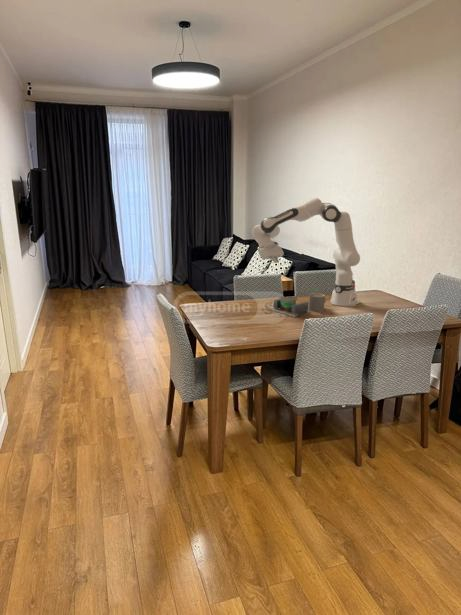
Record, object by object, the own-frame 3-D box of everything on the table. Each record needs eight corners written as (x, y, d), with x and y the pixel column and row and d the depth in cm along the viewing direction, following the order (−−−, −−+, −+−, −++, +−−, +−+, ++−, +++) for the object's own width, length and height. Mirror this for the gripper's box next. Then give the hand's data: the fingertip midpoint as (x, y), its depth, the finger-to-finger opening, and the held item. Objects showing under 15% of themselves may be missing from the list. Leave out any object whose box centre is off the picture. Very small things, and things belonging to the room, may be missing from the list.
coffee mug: (315, 312, 287) (316, 297, 284) (305, 308, 295) (306, 294, 293) (330, 310, 294) (332, 295, 291) (320, 306, 302) (322, 292, 299)
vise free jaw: (287, 304, 298) (287, 296, 296) (290, 305, 296) (291, 297, 294) (273, 308, 288) (274, 299, 287) (276, 308, 286) (277, 300, 285)
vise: (282, 305, 302) (283, 295, 300) (310, 312, 286) (310, 302, 284) (267, 309, 291) (267, 298, 289) (294, 317, 275) (295, 306, 274)
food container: (280, 313, 283) (281, 298, 280) (278, 310, 289) (278, 295, 286) (298, 313, 285) (299, 298, 282) (296, 310, 291) (297, 295, 288)
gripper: (259, 244, 289) (269, 261, 285) (279, 242, 303) (289, 258, 299) (253, 250, 293) (263, 267, 289) (274, 247, 307) (283, 263, 303)
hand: (277, 262), depth 294 cm, fingers closed
